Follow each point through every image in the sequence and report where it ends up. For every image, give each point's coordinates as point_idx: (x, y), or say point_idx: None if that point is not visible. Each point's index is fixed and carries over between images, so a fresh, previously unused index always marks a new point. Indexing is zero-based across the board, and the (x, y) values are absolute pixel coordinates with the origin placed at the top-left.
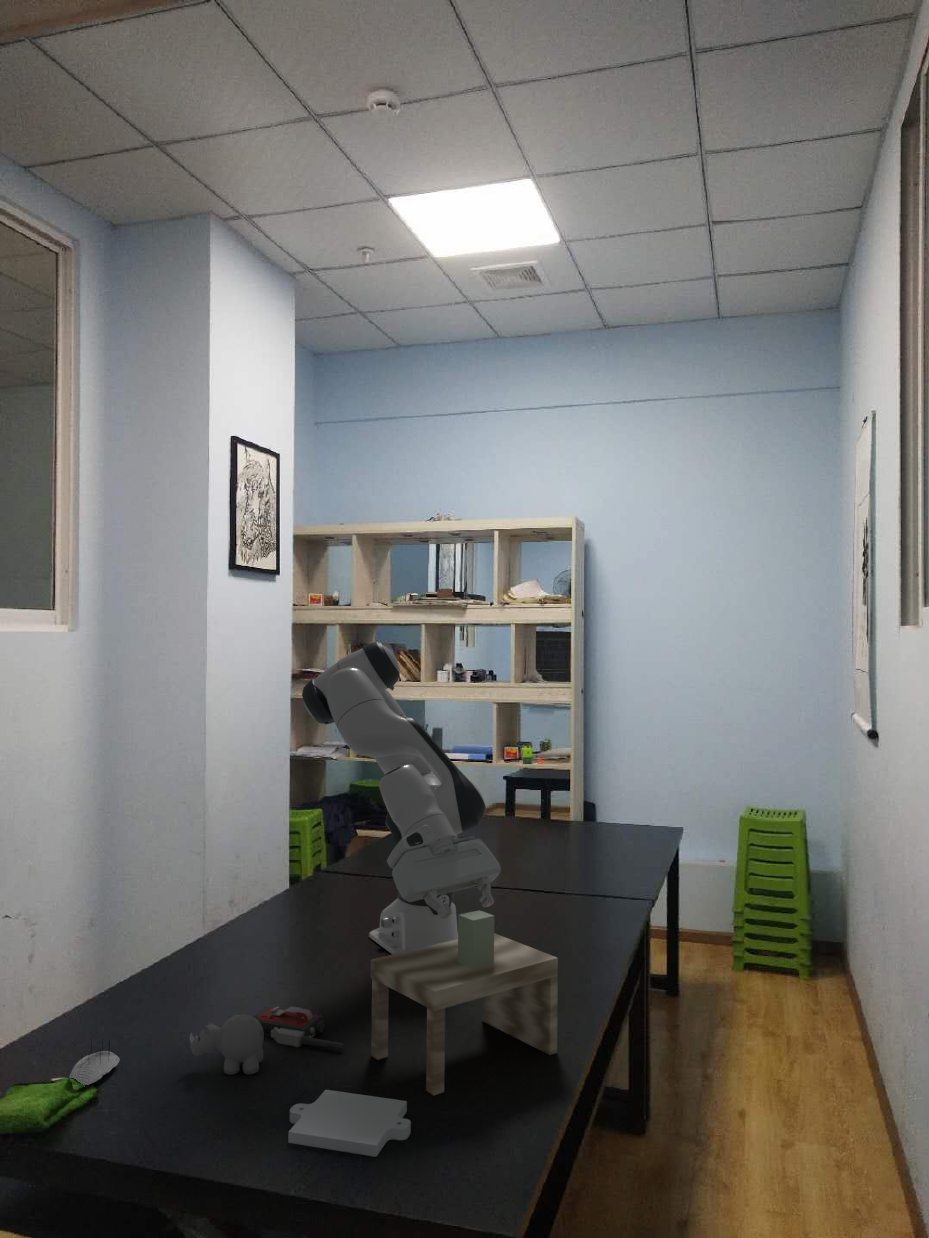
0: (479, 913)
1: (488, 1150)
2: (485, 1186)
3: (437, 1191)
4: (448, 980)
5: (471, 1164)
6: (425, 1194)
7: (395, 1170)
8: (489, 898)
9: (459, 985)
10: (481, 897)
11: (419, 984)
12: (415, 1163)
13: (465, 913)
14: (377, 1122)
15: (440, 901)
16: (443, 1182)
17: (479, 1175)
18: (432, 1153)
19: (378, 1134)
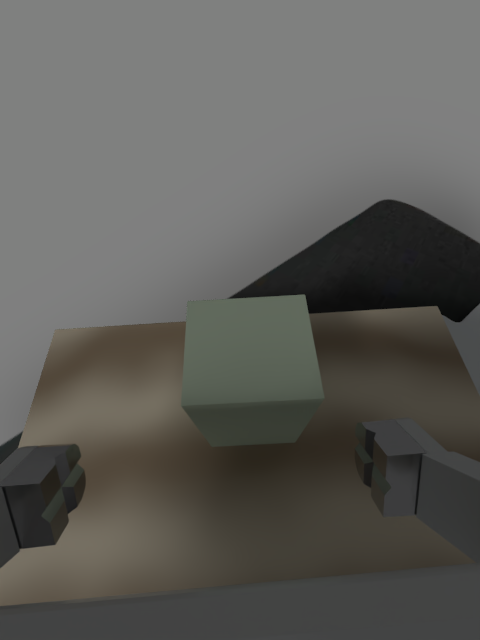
0: (219, 358)
1: (355, 268)
2: (383, 234)
3: (426, 244)
4: (380, 343)
5: (381, 259)
6: (438, 246)
7: (457, 282)
8: (38, 456)
9: (365, 311)
10: (48, 519)
11: (461, 362)
12: (434, 282)
13: (280, 394)
14: (470, 340)
15: (459, 466)
16: (416, 251)
17: (381, 245)
18: (411, 288)
19: (473, 319)
